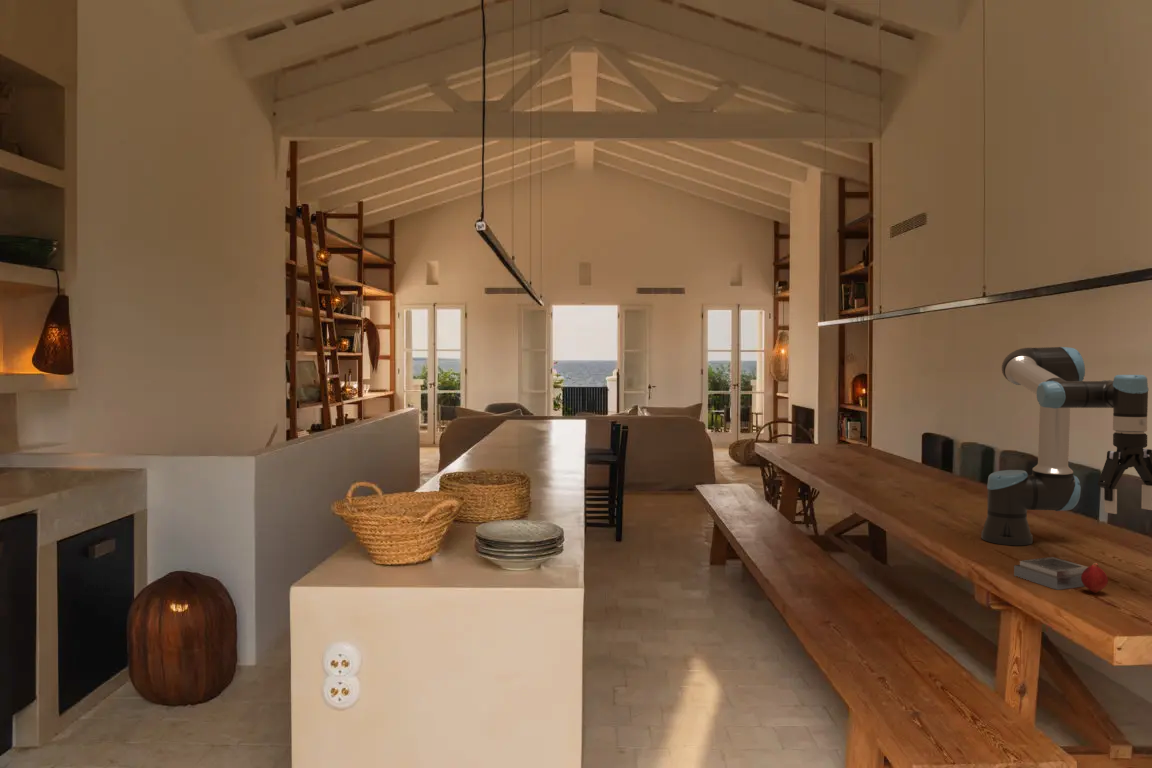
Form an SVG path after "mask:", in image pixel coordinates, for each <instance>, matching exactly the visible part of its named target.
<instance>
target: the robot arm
mask: <svg viewBox="0 0 1152 768" xmlns="http://www.w3.org/2000/svg"><path fill="white" fill-rule="evenodd" d="M1001 373H1002V375H1003V377H1004V378H1005V379H1006V380H1007V381H1008V382H1010V383H1011V384H1013V385H1016V386H1022V387H1024V388H1025V389H1027V390H1029V391H1030V392H1032V393H1033V394H1035V395H1036V400H1037V402H1038V404H1039V420H1038V421H1039V422H1038V423H1039V424H1038V452H1037V454H1038V456H1037V464H1036V465H1034V467H1032V470H1031V471H1032V474H1028V472H1027V471H1026V470H1023V469H1006V470H1005V469H1004V470H998V471H993V472H992V473H990V474H989V475H988V478H987V485H986V488H987V489H986V490H987V515H986V520H985V522H984V525H983V528H982V529H981V532H980V533H981V539H982V540H984V542H985V541H986V542H989V543H993V544H996V545H997V544H998V545H1005V546H1027V545H1028V546H1029V545H1032V544H1033V541H1034V539H1033V536H1034V535H1033V534H1032V533H1031V528H1030V524H1029V522H1028V516H1027V515H1028V511H1055V512H1060V511H1071V510H1073V509H1074V508H1075V507H1076V506H1077V505H1078V503H1079V501H1080V497H1081V490H1082V488H1081V482H1080V479H1079V478H1078V476H1076V475H1074V470H1072V468H1070V467H1069V466H1070V465H1069V452H1070V451H1069V450H1070V425H1071V424H1070V423H1071V409H1077V408H1078V409H1082V408H1083V409H1084V408H1085V409H1093V408H1095V409H1098V408H1099V409H1109V408H1110V409H1112V410H1113V413H1112V414H1113V416H1112V430H1113V431H1114V432H1113V434H1112V444H1113V446H1114V447H1116V451H1115V450H1113V451H1112V450H1107V452H1106V459H1105V463H1104V465H1103V468H1102V470H1101V473H1100V475H1099V478H1098V481H1097V486H1098V487H1100V488H1103V490H1104V491H1103V492H1104V496H1103V497H1104V513H1108V514H1114V515H1117V514H1118V489H1117V488H1116V486H1117V485H1118V482H1119V481H1120V479H1121V478H1122V477H1123V474H1124V473H1125V471H1127V470H1128V469H1129V468H1134V470H1135V471H1136V473H1137V474H1138V475H1139V478H1140V479H1141V480H1142V482H1143V483H1144V484H1141V508H1140V509H1142V510H1149V511H1152V449H1151V448H1150V449H1149V448H1147V446H1148V434H1147V433H1145V432H1147V431H1148V405H1149V403H1148V402H1149V400H1148V399H1149V385H1148V378H1147V376H1146V375H1144V374H1117V375H1115V376H1114V377H1113V380H1110V379H1109V380H1104V379H1103V380H1092V381H1091V380H1085V381H1084V377H1085V376H1086V367H1085V361H1084V359H1083V356H1082V355H1081V353H1080V351H1079V350H1078V349H1076V348H1074V347H1065V346H1053V347H1052V346H1051V347H1049V346H1047V347H1023V348H1018V349H1015V350H1014V351H1012V352H1010V353H1009V354H1007V356H1005V358H1004V359H1003V361H1002V364H1001Z"/></svg>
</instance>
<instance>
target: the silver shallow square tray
mask: <svg viewBox="0 0 1152 768" xmlns="http://www.w3.org/2000/svg"><path fill="white" fill-rule="evenodd" d="M1088 567H1089V566H1087V565H1083V564H1079V563H1075V562H1073V561H1068V560H1065V559H1061V558H1059V557H1058V558H1057V557H1055V556H1048V557H1042V558H1031V559H1026V560H1025V559H1024V560H1019V564H1015V565H1014V566H1013V576H1014V577H1016V576H1018V577H1017V578H1019V577H1020V578H1019V579H1022V578H1023V579H1022V580H1025V579H1026V581H1028V580H1029V582H1032V583H1034V584H1038V585H1041V586H1043V587H1047V588H1051V589H1053V590H1057V591H1058V590H1066V589H1067V590H1068V589H1074V588H1081V587H1085V586H1084V584H1083V582H1082V580H1081V576H1082V573H1083V571H1084V570H1085V569H1086V568H1088Z"/></svg>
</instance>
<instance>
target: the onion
mask: <svg viewBox="0 0 1152 768" xmlns="http://www.w3.org/2000/svg"><path fill="white" fill-rule="evenodd" d="M1087 567H1088V568H1086V569H1085V570H1084V571H1083V573H1082V576H1081V580H1082V582H1083V584H1084V586H1083V587H1085V588H1086V589H1088V590H1089V591H1090V592H1092V593H1093V594H1097V593H1099V592H1100V591H1103V589H1105V588H1106V587H1107V585H1108V583H1109V578H1108V575H1107V574H1106V572H1105V571H1104V570H1103V568H1101V567H1099V564H1098V563H1097V562H1094V563H1092V565H1089V566H1087Z"/></svg>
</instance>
